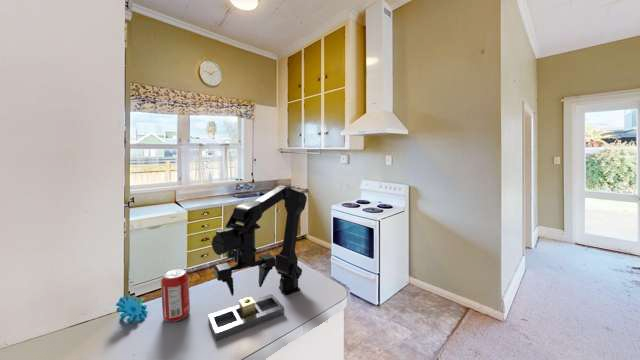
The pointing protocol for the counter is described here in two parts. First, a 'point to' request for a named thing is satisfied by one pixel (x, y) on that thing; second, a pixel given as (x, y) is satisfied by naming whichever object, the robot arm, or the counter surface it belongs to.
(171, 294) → the soda can
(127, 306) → the gear
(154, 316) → the counter surface
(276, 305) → the tray
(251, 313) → the brass block
